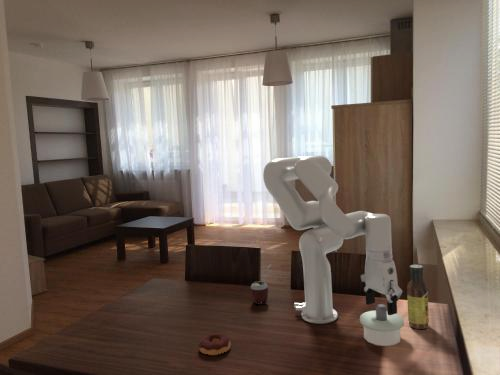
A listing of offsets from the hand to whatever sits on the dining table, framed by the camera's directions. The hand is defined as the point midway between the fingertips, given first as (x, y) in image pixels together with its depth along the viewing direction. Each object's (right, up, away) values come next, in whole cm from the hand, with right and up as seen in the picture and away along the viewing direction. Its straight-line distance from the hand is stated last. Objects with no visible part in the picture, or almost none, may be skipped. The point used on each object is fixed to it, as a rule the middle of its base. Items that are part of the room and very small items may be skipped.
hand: (381, 308), depth 127 cm
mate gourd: (-36, -9, +36) cm, 52 cm away
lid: (0, -4, +1) cm, 4 cm away
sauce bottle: (+15, -8, +7) cm, 18 cm away
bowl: (+1, -9, +1) cm, 9 cm away
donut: (-51, -13, +1) cm, 53 cm away
